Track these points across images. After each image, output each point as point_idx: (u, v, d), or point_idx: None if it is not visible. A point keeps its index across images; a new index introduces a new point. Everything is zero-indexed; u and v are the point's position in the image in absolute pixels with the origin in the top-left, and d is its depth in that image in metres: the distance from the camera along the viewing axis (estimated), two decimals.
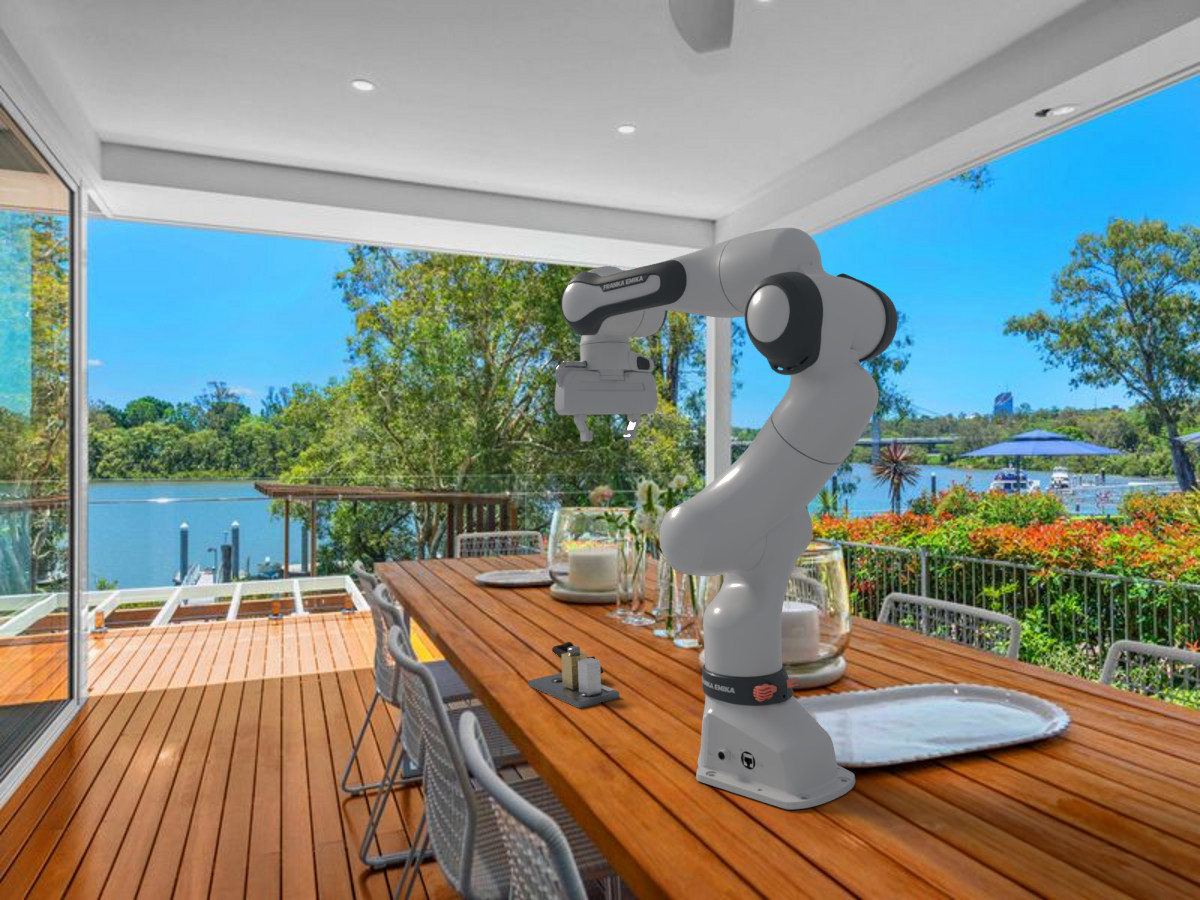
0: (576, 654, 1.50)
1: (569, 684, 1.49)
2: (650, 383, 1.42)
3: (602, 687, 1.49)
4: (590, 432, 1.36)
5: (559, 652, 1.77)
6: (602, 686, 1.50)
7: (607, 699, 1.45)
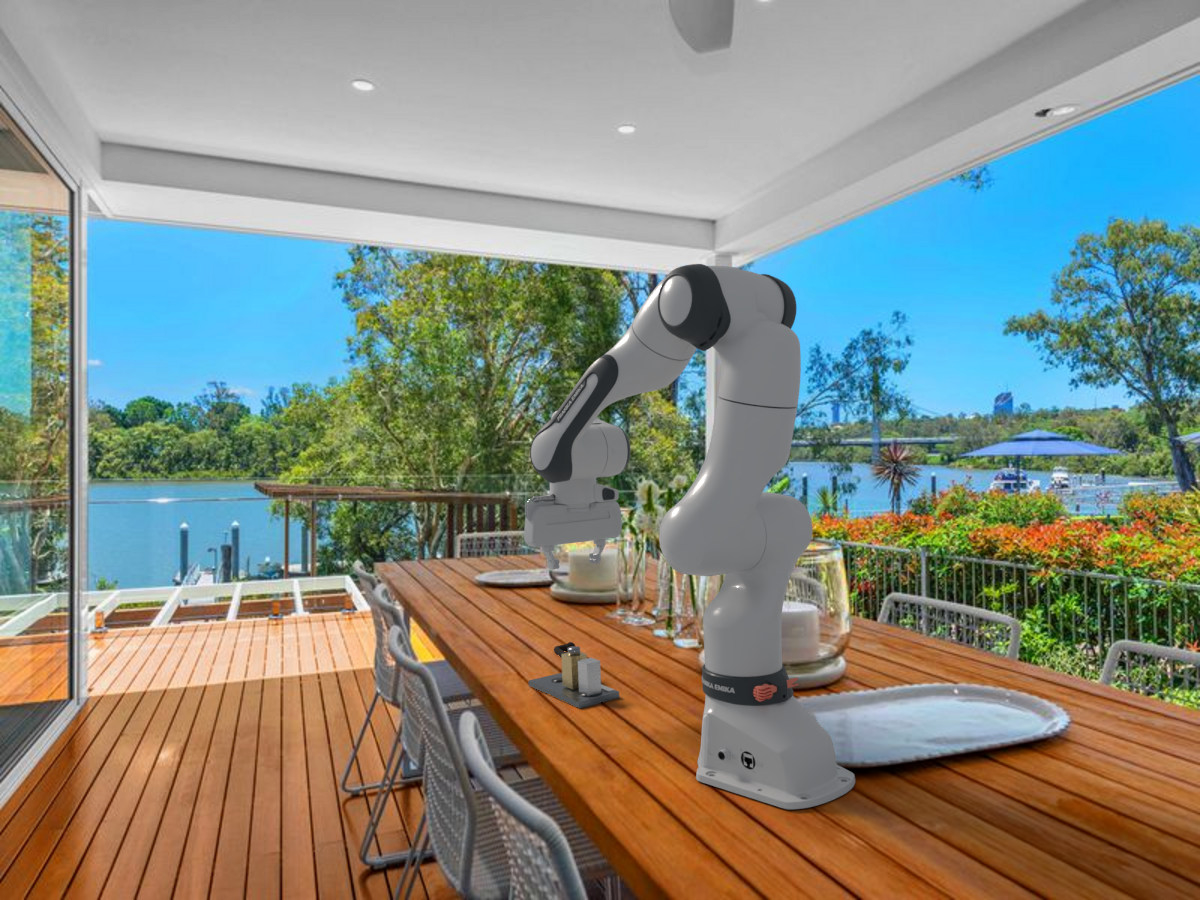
0: (576, 654, 1.50)
1: (569, 684, 1.49)
2: (615, 510, 1.52)
3: (602, 687, 1.49)
4: (557, 561, 1.46)
5: (559, 652, 1.77)
6: (602, 686, 1.50)
7: (607, 699, 1.45)
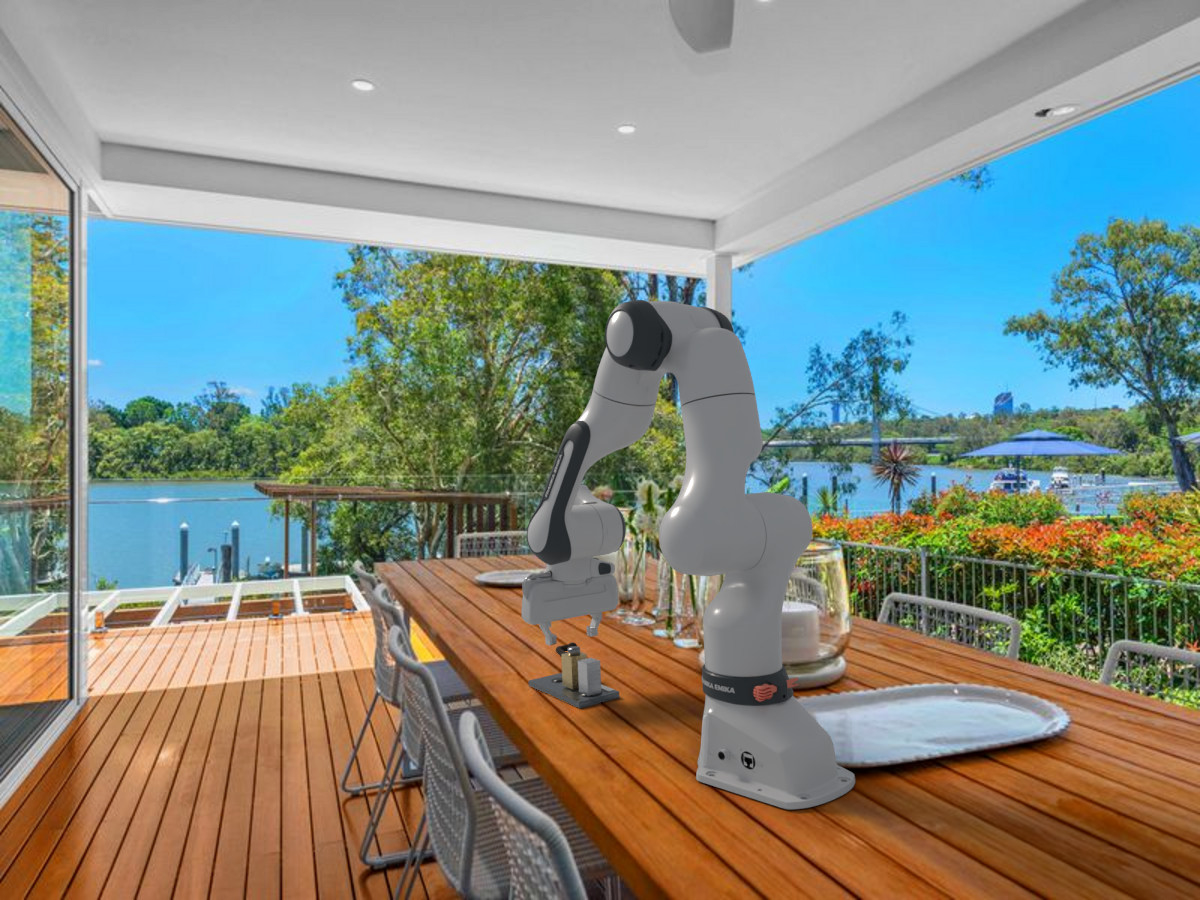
0: (576, 654, 1.50)
1: (569, 684, 1.49)
2: (611, 584, 1.54)
3: (602, 687, 1.49)
4: (554, 637, 1.48)
5: (561, 652, 1.76)
6: (602, 686, 1.50)
7: (607, 699, 1.45)
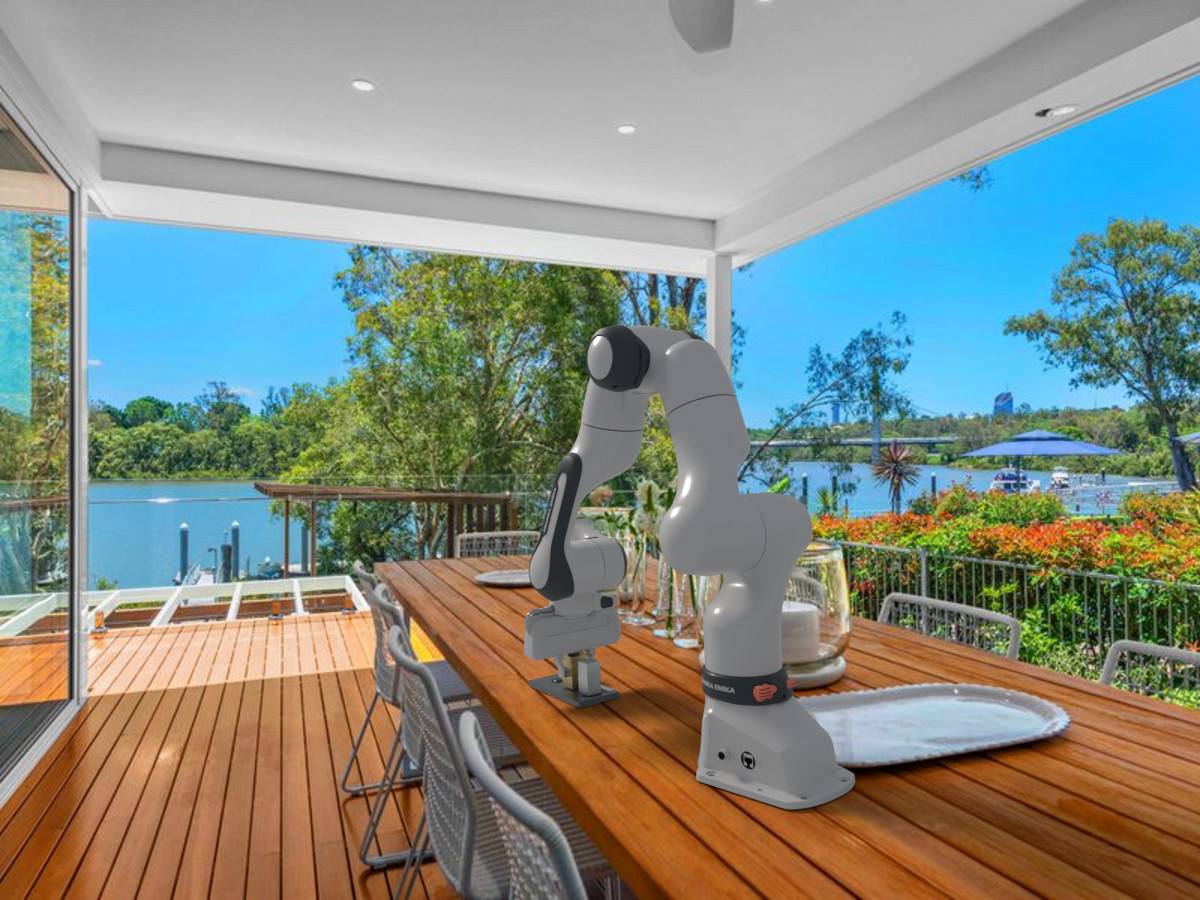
0: (576, 654, 1.50)
1: (569, 684, 1.49)
2: (614, 617, 1.54)
3: (602, 687, 1.49)
4: (567, 669, 1.49)
5: None
6: (602, 686, 1.50)
7: (607, 699, 1.45)
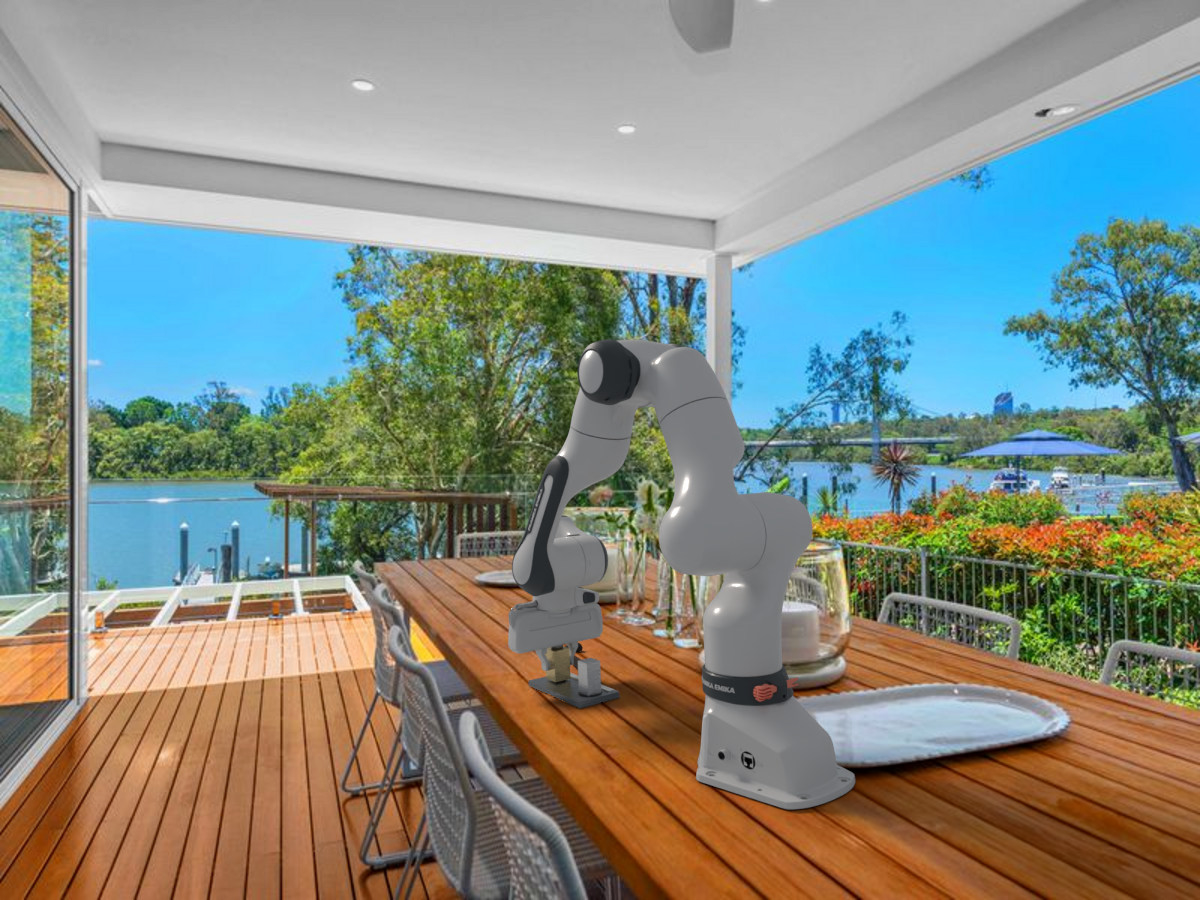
0: (559, 648, 1.55)
1: (552, 677, 1.54)
2: (596, 612, 1.59)
3: (602, 687, 1.49)
4: (550, 662, 1.54)
5: None
6: (602, 686, 1.50)
7: (607, 699, 1.45)
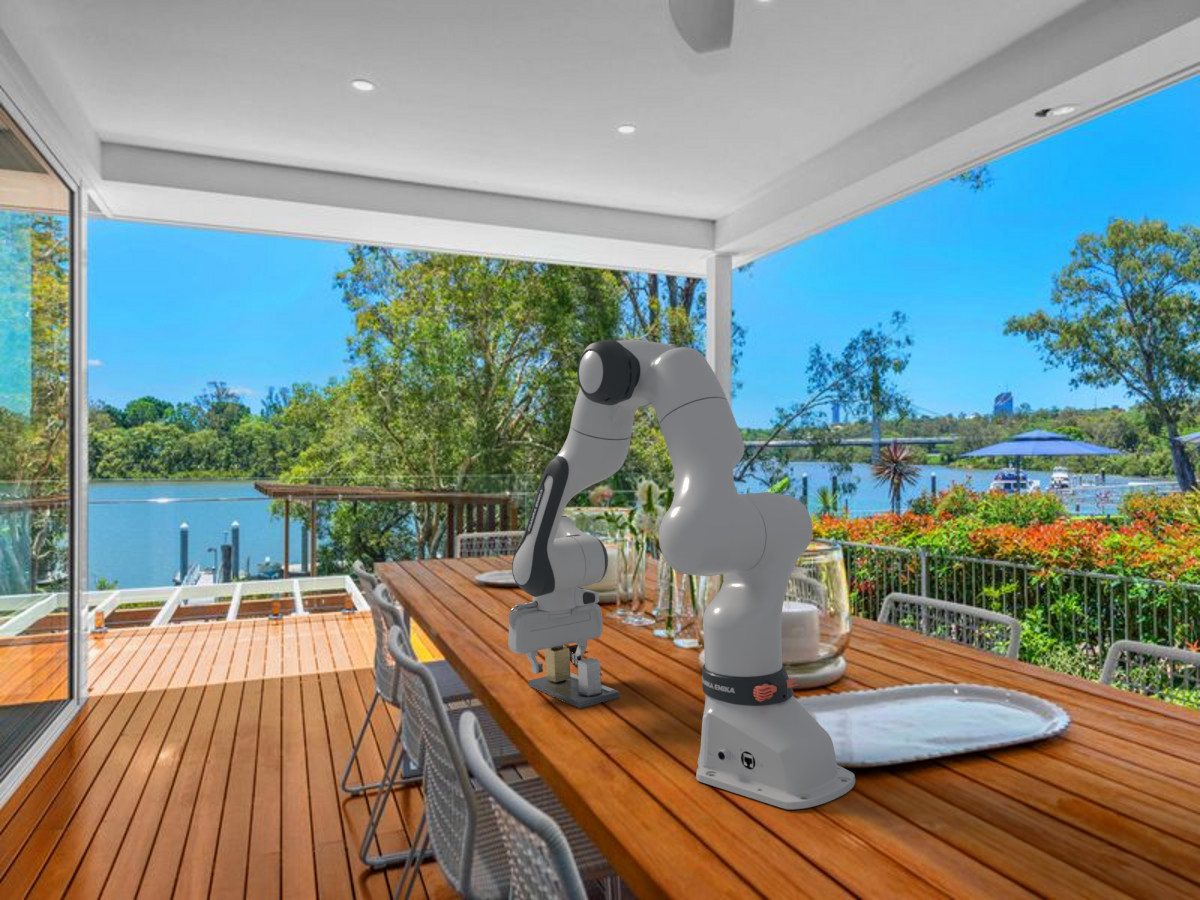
0: (559, 648, 1.55)
1: (552, 677, 1.54)
2: (596, 612, 1.59)
3: (602, 687, 1.49)
4: (540, 665, 1.52)
5: None
6: (602, 686, 1.50)
7: (607, 699, 1.45)
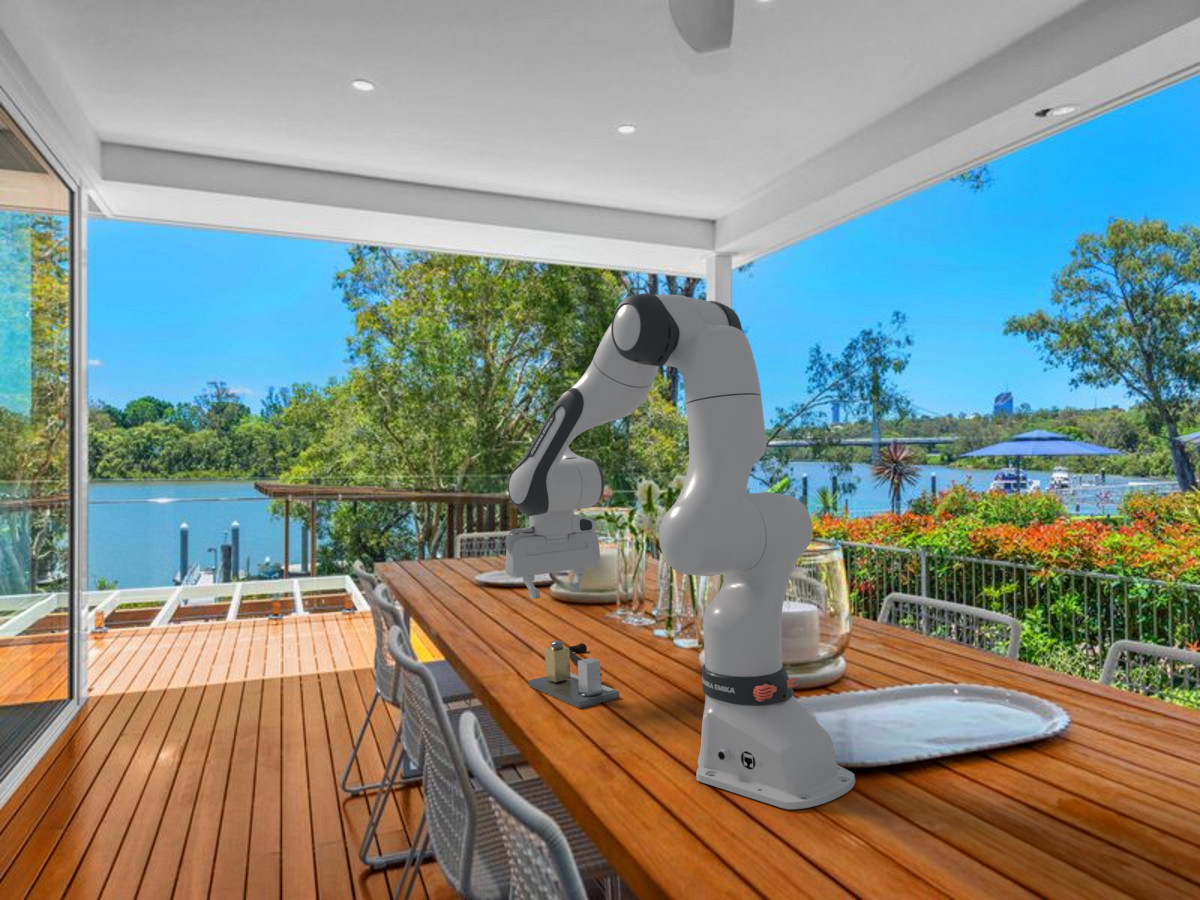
0: (559, 648, 1.55)
1: (552, 677, 1.54)
2: (593, 540, 1.59)
3: (602, 687, 1.49)
4: (537, 590, 1.52)
5: None
6: (602, 686, 1.50)
7: (607, 699, 1.45)
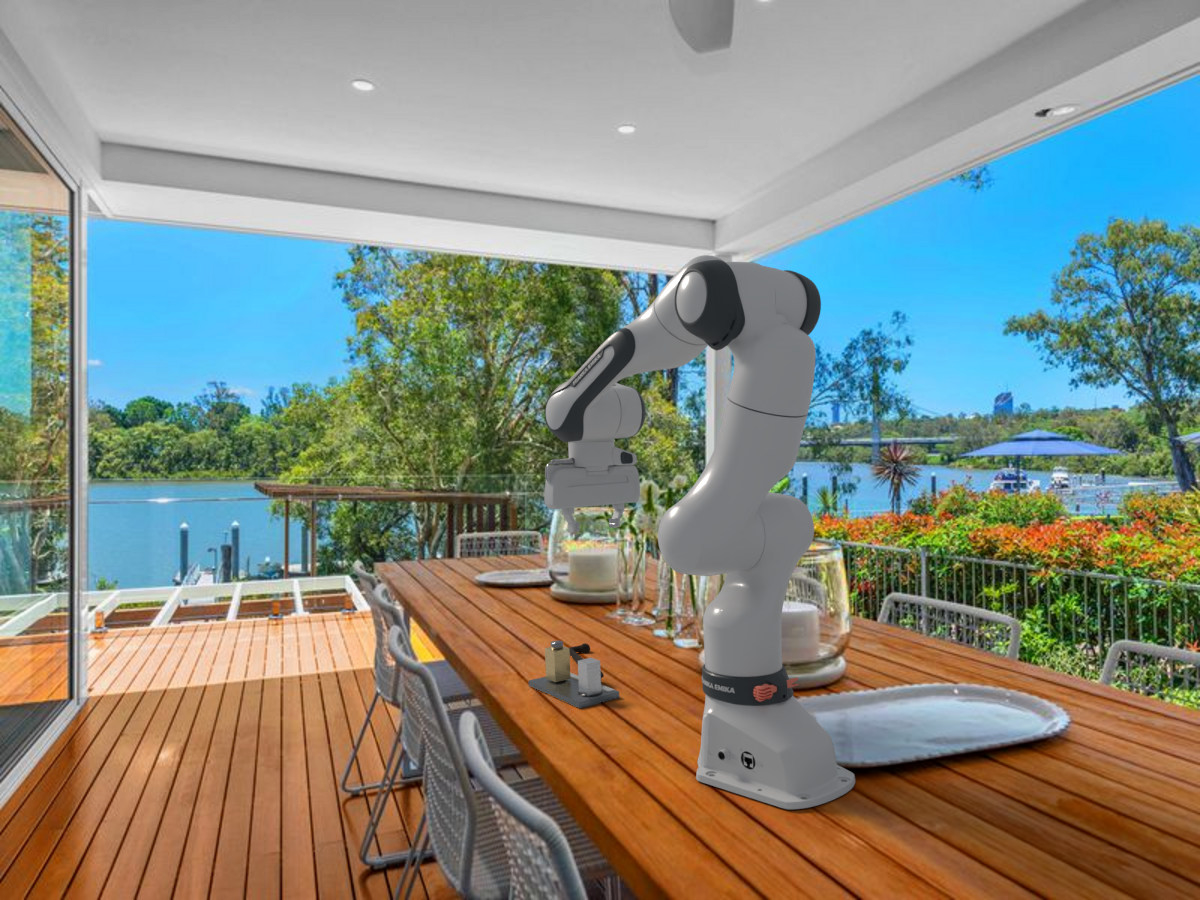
0: (559, 648, 1.55)
1: (552, 677, 1.54)
2: (633, 475, 1.53)
3: (602, 687, 1.49)
4: (577, 524, 1.47)
5: (572, 653, 1.75)
6: (602, 686, 1.50)
7: (607, 699, 1.45)
